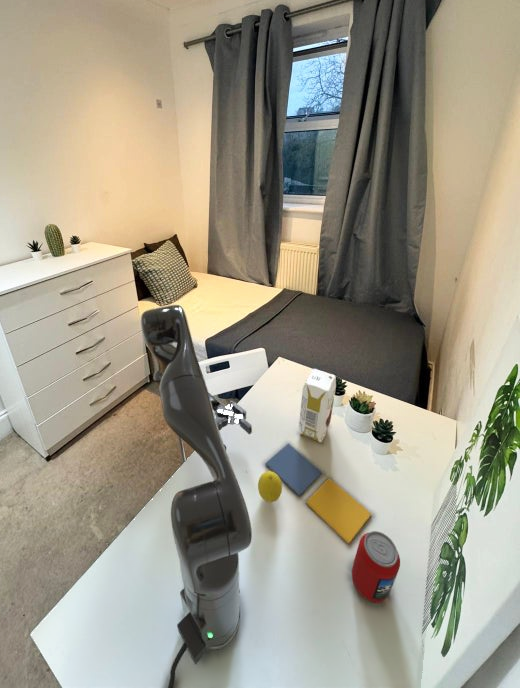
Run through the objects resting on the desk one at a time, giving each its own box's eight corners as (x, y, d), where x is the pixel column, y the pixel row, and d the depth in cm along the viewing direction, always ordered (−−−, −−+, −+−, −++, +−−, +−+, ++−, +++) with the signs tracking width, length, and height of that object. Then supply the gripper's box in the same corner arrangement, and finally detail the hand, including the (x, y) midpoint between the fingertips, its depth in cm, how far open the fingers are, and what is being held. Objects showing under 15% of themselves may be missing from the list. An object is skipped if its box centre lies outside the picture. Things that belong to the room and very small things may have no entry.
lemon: (280, 511, 75) (282, 489, 72) (256, 506, 76) (257, 485, 73) (281, 487, 80) (283, 466, 76) (258, 484, 81) (259, 462, 78)
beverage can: (386, 614, 59) (400, 580, 53) (347, 589, 62) (356, 555, 57) (391, 574, 64) (404, 540, 59) (354, 554, 67) (364, 519, 62)
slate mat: (299, 496, 78) (299, 495, 78) (265, 464, 86) (265, 462, 85) (321, 473, 83) (322, 471, 83) (288, 444, 91) (288, 443, 90)
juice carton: (296, 435, 93) (301, 383, 85) (305, 414, 100) (311, 365, 92) (322, 446, 90) (330, 394, 82) (330, 424, 96) (339, 374, 88)
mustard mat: (348, 544, 69) (349, 542, 68) (306, 503, 76) (306, 501, 76) (370, 515, 74) (371, 513, 73) (328, 479, 81) (329, 477, 81)
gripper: (178, 406, 88) (215, 446, 76) (219, 381, 95) (259, 414, 84) (180, 426, 91) (216, 467, 79) (220, 400, 99) (258, 435, 87)
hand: (238, 440), depth 82 cm, fingers open, 8 cm apart
